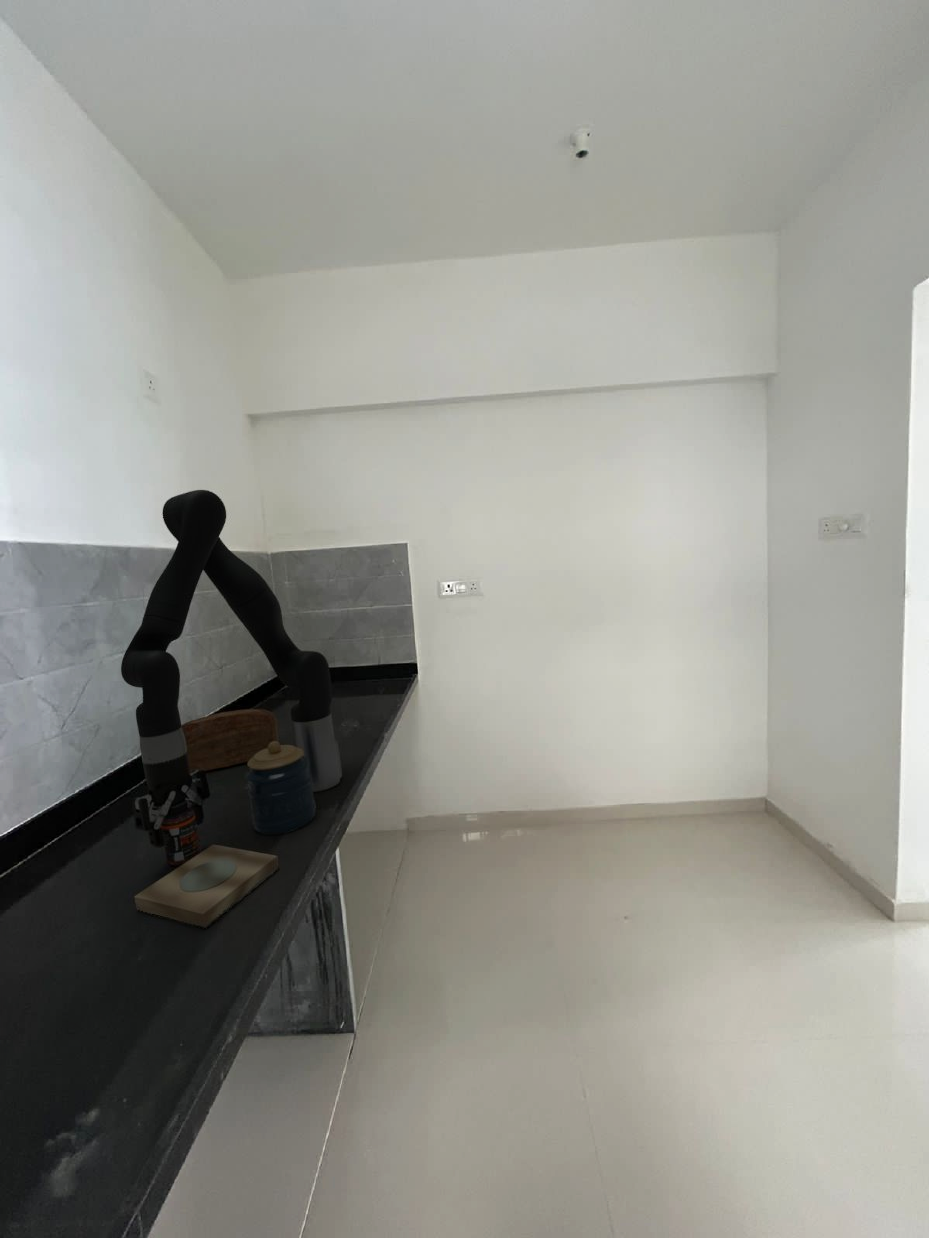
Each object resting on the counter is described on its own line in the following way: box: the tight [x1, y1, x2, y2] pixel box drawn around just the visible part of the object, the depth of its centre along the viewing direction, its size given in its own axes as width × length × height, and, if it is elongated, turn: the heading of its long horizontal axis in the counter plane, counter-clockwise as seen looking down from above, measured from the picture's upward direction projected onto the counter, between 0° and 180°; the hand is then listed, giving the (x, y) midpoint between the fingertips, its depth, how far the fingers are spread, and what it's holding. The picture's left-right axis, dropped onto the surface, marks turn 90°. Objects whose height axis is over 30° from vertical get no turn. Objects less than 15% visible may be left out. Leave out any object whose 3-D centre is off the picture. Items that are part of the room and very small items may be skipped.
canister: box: [244, 741, 317, 836], centre depth 115 cm, size 13×13×18 cm
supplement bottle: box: [160, 799, 202, 866], centre depth 104 cm, size 6×6×11 cm
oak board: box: [134, 844, 280, 927], centre depth 94 cm, size 16×16×3 cm
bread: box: [181, 708, 279, 774], centre depth 154 cm, size 12×28×14 cm, turn 110°
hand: (179, 834), depth 104 cm, fingers open, 8 cm apart
